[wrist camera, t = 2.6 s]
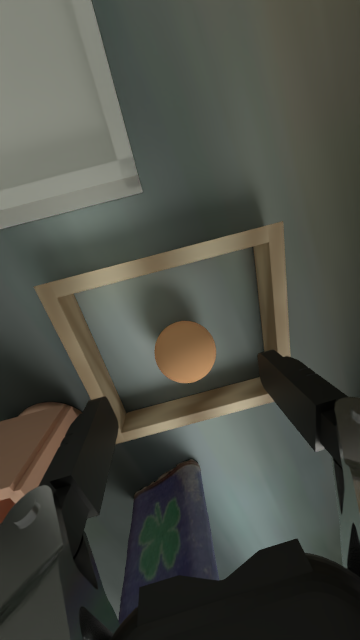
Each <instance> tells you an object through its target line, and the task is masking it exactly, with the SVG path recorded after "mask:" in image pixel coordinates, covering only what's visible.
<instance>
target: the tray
mask: <svg viewBox="0 0 360 640" xmlns="http://www.w3.org/2000/svg"><path fill="white" fill-rule="evenodd" d="M139 193H143V191H142V187H141V183H140V180H139V176H138V172H137V169H136V165H135V161H134V157H133V154H132V150H131V146H130V142H129V139H128V135H127V131H126V127H125V124H124V120H123V116H122V112H121V109H120V105H119V101H118V98H117V94H116V90H115V86H114V83H113V79H112V75H111V71H110V68H109V64H108V60H107V56H106V53H105V49H104V45H103V42H102V38H101V34H100V30H99V27H98V23H97V19H96V15H95V12H94V8H93V4H92V0H0V229H4V228H8V227H12V226H15V225H19V224H23V223H27V222H31V221H35V220H39V219H42V218H46V217H50V216H54V215H58V214H62V213H66V212H69V211H73V210H77V209H81V208H85V207H89V206H93V205H96V204H100V203H104V202H108V201H112V200H116V199H120V198H123V197H127V196H131V195H135V194H139Z"/></svg>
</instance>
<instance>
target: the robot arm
mask: <svg viewBox="0 0 360 640" xmlns="http://www.w3.org/2000/svg"><path fill="white" fill-rule="evenodd" d="M257 357H258V366H259V375H260V380H261V383H262V385H263V387H264V389H265V390H266V392H267V393H268V394H269V395H270V396H271V398H272V399H273V400H274V401H275V403H276V404H277V405H278V406H279V408H280V409H281V410H282V411H283V413H284V414H285V415H286V416H287V418H288V419H289V420H290V421H291V422H292V424H293V425H294V426H295V427H296V429H297V430H298V431H299V432H300V434H301V435H302V436H303V437H304V439H305V440H306V441H307V442H308V444H309V445H310V446H311V447H312V449H313V450H314V451H315V452H317V451H320V450H324V449H326V450H327V451H328V452H329V453H330V454H331V456H332V467H333V475H334V482H335V490H336V497H337V505H338V512H339V521H340V539H341V551H342V561H343V566H341V565H340V564H338V563H336V562H334V561H331V560H329V559H327V558H324V557H321V556H318V555H314V554H310V553H304V551H303V549H302V547H301V545H300V543H299V541H298V539H294V540H291V541H287V542H284V543H281V544H278V545H275V546H271V547H268V548H265V549H262V550H259V551H258V552H257V553H255V554H254V555H253V556H252V557H251V558H249V559H248V560H247V561H246V562H245V563H244V564H242V565H241V566H240V567H239V568H238V569H237V570H235V571H234V572H233V573H232V574H231V575H229V576H228V577H227V578H226V579H224V580H211V579H204V578H196V577H189V576H182V575H177V576H174V577H171V578H168V579H164V580H161V581H158V582H155V583H151V584H148V585H145V586H142V587H139V600H138V607H136V608H135V609H134V610H133V611H132V612H131V613H130V614H129V615H128V616H127V617H126V618H125V619H124V621H123V622H122V623H121V625H120V624H119V621H118V619H117V617H116V614H115V612H114V610H113V608H112V606H111V604H110V602H109V600H108V598H107V596H106V594H105V591H104V588H103V585H102V582H101V579H100V576H99V573H98V570H97V566H96V563H95V560H94V557H93V554H92V551H91V547H90V544H89V541H88V538H87V535H86V533H85V531H84V528H85V524H86V520H87V518H91V517H94V516H98V515H99V514H100V509H101V505H102V500H103V496H104V492H105V487H106V483H107V479H108V474H109V470H110V465H111V461H112V457H113V452H114V448H115V444H116V439H117V435H118V430H119V425H118V419H117V417H116V415H115V413H114V411H113V409H112V406H111V404H110V402H109V400H108V398H107V397H106V396H103V397H100V398H96V399H93V400H89V401H88V403H87V405H86V407H85V409H84V411H83V413H82V414H79V415H78V417H77V418H76V419H75V420H74V421H73V422H72V423H71V425H70V427H69V428H68V430H67V432H66V434H65V437H64V438H63V440H62V442H61V444H60V447H59V448H58V449H57V451H56V453H55V455H54V457H53V459H52V461H51V463H50V465H49V467H48V469H47V470H46V472H45V474H44V476H43V478H42V480H41V482H40V484H39V486H38V487H36V488H34V489H33V490H31V491H29V492H28V493H27V494H25V495H24V496H23V497H22V498H21V499H20V500H19V501H18V502H17V503H16V504H15V505H14V506H13V507H12V508H11V510H10V511H9V512H8V514H7V515H6V517H5V518H4V520H3V522H2V523H1V524H0V640H360V398H356V397H348V396H347V395H345V394H344V393H342V392H341V391H340V390H338V389H337V388H336V387H334V386H333V385H332V384H330V383H329V382H327V381H326V380H325V379H323V378H322V377H321V376H319V375H318V374H315V372H314V371H312V370H311V369H310V368H308V367H307V366H306V365H304V364H303V363H302V362H300V361H299V360H296V359H294V358H291V357H289V356H285V357H283V356H282V355H280V354H279V353H278V352H276V351H275V350H273V349H272V350H268V351H265V352H261V353H258V355H257Z"/></svg>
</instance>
